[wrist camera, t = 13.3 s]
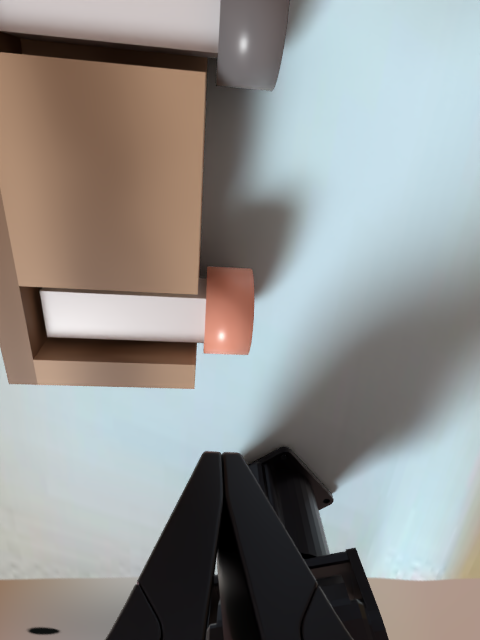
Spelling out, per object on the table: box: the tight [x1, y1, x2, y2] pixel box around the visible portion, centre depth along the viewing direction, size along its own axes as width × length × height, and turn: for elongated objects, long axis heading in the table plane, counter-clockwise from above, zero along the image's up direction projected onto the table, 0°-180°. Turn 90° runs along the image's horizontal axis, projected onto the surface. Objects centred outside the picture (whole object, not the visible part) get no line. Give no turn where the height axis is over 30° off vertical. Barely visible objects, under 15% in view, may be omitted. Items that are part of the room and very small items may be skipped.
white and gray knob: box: [0, 0, 290, 91], centre depth 13 cm, size 9×4×4 cm, turn 85°
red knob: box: [40, 266, 254, 355], centre depth 19 cm, size 9×4×4 cm, turn 85°
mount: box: [0, 32, 208, 389], centre depth 16 cm, size 8×17×4 cm, turn 175°
